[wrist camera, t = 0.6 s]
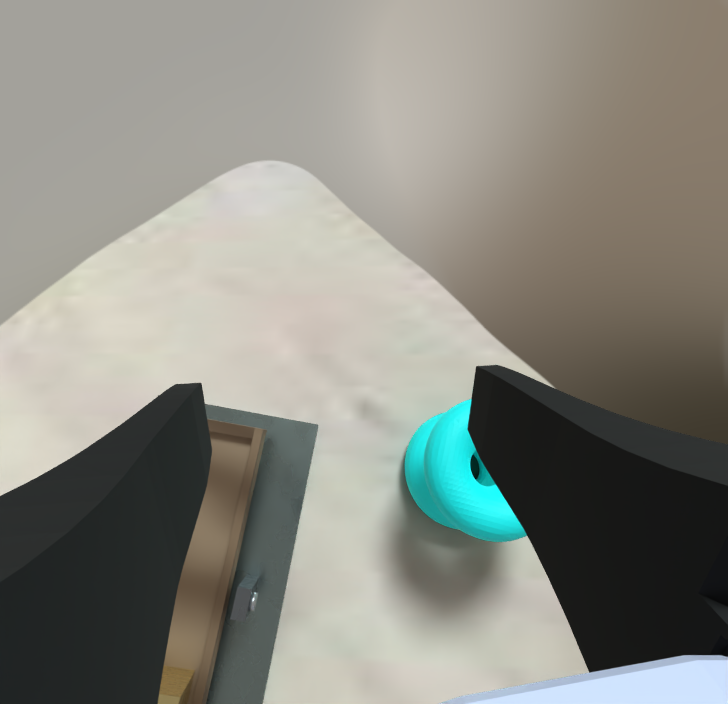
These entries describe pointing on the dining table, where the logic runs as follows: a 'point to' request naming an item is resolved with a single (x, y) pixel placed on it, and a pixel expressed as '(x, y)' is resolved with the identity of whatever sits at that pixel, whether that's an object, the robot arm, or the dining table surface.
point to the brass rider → (175, 685)
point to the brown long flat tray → (214, 553)
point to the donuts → (456, 480)
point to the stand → (261, 556)
